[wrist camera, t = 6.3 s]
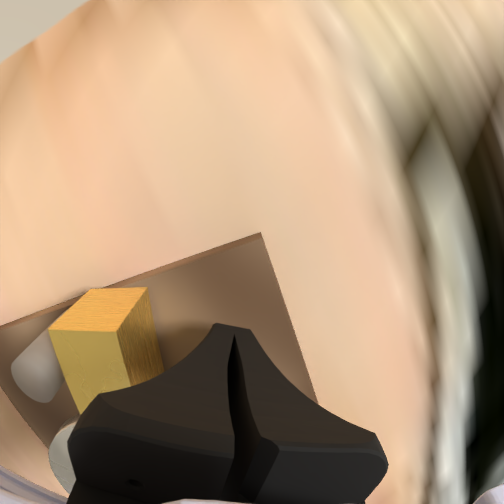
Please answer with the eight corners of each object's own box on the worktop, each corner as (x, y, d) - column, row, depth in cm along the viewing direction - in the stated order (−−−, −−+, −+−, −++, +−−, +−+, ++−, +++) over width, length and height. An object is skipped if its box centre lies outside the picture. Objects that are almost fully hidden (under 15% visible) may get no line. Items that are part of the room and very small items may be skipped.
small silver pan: (281, 512, 16) (286, 555, 12) (108, 503, 16) (96, 540, 12) (280, 279, 11) (296, 329, 8) (6, 290, 11) (-43, 323, 8)
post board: (142, 524, 18) (133, 570, 13) (-18, 332, 13) (-69, 377, 8) (347, 495, 17) (363, 550, 12) (260, 232, 12) (273, 278, 7)
